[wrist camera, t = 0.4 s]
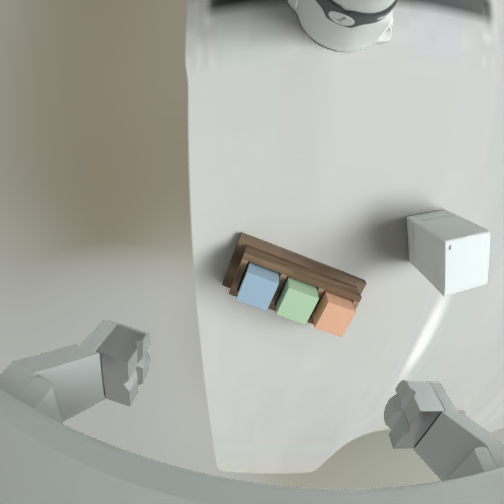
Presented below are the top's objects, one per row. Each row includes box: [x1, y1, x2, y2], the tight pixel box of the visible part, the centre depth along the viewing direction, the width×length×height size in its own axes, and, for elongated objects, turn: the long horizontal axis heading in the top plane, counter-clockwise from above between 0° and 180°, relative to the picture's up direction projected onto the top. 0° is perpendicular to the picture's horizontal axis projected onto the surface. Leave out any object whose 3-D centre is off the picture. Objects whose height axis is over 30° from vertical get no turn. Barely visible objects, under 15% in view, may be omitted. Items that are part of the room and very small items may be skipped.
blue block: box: [236, 262, 279, 311], centre depth 50 cm, size 5×5×5 cm
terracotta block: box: [312, 290, 356, 337], centre depth 51 cm, size 5×5×5 cm
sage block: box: [276, 276, 319, 325], centre depth 50 cm, size 5×5×5 cm
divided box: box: [222, 233, 367, 324], centre depth 54 cm, size 10×24×6 cm, turn 69°
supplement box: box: [406, 210, 490, 296], centre depth 45 cm, size 9×9×15 cm
